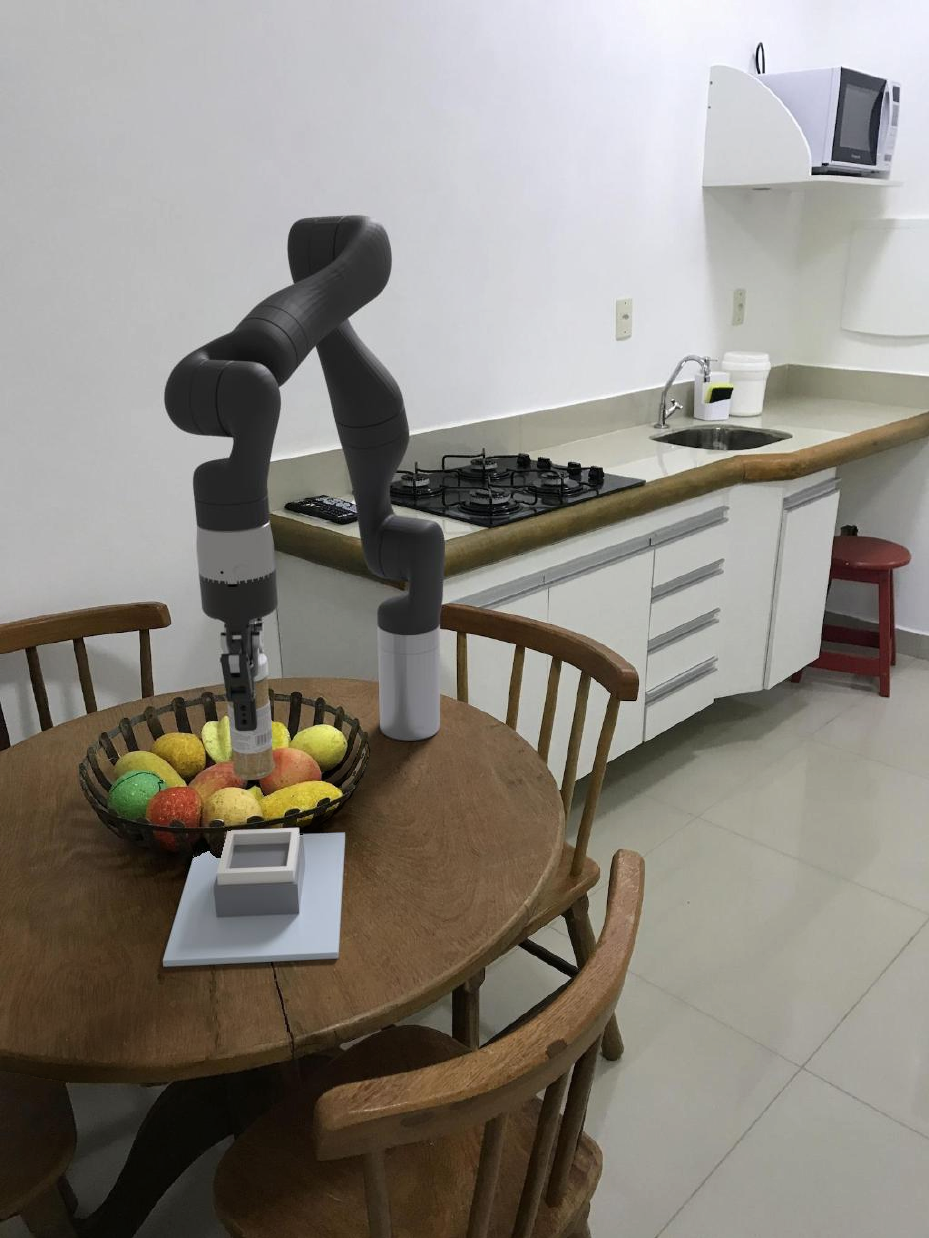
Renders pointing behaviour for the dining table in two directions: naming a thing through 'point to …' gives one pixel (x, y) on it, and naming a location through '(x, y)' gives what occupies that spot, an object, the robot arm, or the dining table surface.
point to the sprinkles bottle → (254, 734)
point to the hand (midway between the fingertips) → (249, 717)
